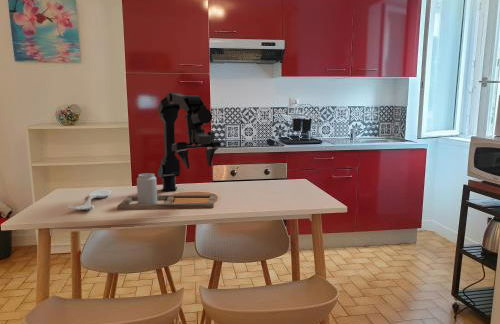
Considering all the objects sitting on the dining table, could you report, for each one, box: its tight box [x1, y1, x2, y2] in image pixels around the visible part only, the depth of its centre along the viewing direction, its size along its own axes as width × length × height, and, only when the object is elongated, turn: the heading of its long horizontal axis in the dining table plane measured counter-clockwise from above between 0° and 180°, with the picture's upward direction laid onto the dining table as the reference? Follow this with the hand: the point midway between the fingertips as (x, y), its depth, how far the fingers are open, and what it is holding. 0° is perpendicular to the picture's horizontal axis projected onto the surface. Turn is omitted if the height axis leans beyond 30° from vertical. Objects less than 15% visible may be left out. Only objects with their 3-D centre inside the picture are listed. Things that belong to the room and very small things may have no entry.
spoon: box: [67, 188, 112, 211], centre depth 157 cm, size 9×32×4 cm, turn 6°
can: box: [136, 172, 158, 204], centre depth 154 cm, size 8×8×12 cm
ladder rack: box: [116, 193, 216, 211], centre depth 155 cm, size 16×36×2 cm, turn 92°
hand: (199, 167), depth 150 cm, fingers open, 9 cm apart
